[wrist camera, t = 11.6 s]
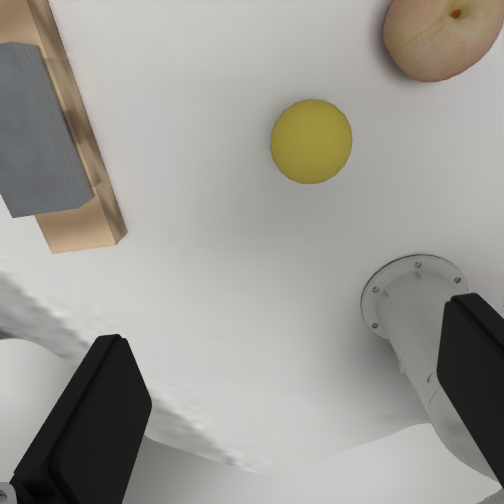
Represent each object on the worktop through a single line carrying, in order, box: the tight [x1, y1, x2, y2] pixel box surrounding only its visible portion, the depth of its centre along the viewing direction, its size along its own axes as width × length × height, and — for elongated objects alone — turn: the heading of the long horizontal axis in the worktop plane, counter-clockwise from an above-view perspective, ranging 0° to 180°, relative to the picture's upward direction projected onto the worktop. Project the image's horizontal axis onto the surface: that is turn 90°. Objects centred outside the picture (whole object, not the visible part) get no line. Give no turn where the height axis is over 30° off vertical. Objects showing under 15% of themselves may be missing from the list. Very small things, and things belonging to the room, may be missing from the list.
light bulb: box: [270, 99, 352, 184], centre depth 30 cm, size 7×7×10 cm
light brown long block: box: [0, 0, 127, 254], centre depth 33 cm, size 24×7×4 cm, turn 9°
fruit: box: [383, 0, 504, 82], centre depth 27 cm, size 8×8×8 cm
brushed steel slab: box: [0, 41, 95, 218], centre depth 31 cm, size 13×6×6 cm, turn 9°
